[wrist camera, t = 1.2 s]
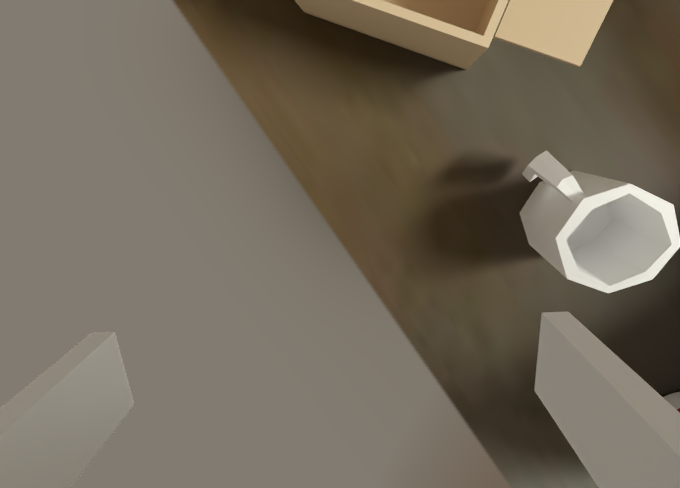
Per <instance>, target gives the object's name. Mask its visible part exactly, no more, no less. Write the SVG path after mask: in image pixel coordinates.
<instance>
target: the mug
mask: <svg viewBox="0 0 680 488" xmlns="http://www.w3.org/2000/svg"><path fill="white" fill-rule="evenodd" d="M522 175H523V176H524V177H525V178H526V179H527V180H528V181H529V182H531V181H532V180H534V179H535V178H536V177H539V178H540V179H542V180H543V181H541V182H539V184H538V185H537V187H536V188H535V190H534V191H533V193H532V194H531V196H530V197H529V199H528V200H527V202H526V203H525V205H524V206H523V208H522V210H521V211H520V217H521V220H522V223H523V227H524V230H525V233H526V236H527V240H528V243H529V245H530V246H531V247H532V248H534V249H535V250H536V251H537V252H538V253H539V254H540V255H541V256H542V257H544V258H545V259H546V260H547V261H548V262H549V263H550V264H551V265H552V266H553V267H555V268H556V269H557V270H558V271H559V272H560V273H561V274H562V275H563V276H565V277H566V278H567V279H569V280H572V281H575V282H578V283H580V284H583V285H586V286H589V287H592V288H594V289H597V290H600V291H603V292H606V293H611V292H614V291H618V290H621V289H624V288H627V287H630V286H634V285H637V284H640V283H643V282H646V281H650V280H653V278H654V277H655V276H656V275H657V274H658V273H659V271H660V270H661V269H662V268H663V267H664V265H665V264H666V263H667V262H668V261H669V259H670V258H671V257H672V256H673V255H674V253H675V252H676V251H677V250H678V249H679V247H680V235H679V230H678V225H677V220H676V215H675V210H674V205H673V204H671V203H669V202H667V201H665V200H663V199H661V198H659V197H657V196H654V195H652V194H650V193H648V192H646V191H644V190H642V189H640V188H638V187H636V186H634V185H632V184H630V183H625V182H621V181H617V180H613V179H608V178H604V177H600V176H595V175H591V174H587V173H583V172H578V171H574V170H573V171H570V172H569V171H568V170H567V169H566V168H565V167H564V166H563V165H562V164H560V163H559V162H558V161H557V160H556V159H555V158H554V157H553V156H552V155H551V154H550V153H549V152H548V151H545V152H543V153H542V154H540V155H538V156H537V157H535V158H534V159H533V160H532V162H531V163H530V164H529V165H528V166H527V167H526V169H525V170H524V171H523V173H522Z"/></svg>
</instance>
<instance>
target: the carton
mask: <svg viewBox="0 0 680 488" xmlns="http://www.w3.org/2000/svg"><path fill="white" fill-rule="evenodd" d="M295 2H296V3H297V4H298V5H299V6H300V8H301V9H302V10H303V11H304V12H305V13H307V14H310V15H313V16H315V17H318V18H321V19H324V20H327V21H329V22H332V23H335V24H338V25H341V26H343V27H346V28H349V29H352V30H355V31H358V32H360V33H363V34H366V35H369V36H372V37H374V38H377V39H380V40H383V41H386V42H388V43H391V44H394V45H397V46H400V47H403V48H405V49H408V50H411V51H414V52H417V53H419V54H422V55H425V56H428V57H431V58H433V59H436V60H439V61H442V62H445V63H447V64H450V65H453V66H456V67H459V68H462V69H464V70H466V69H467V68H468V67H469V66H470V65H471V64H472V63H473V62H474V61H475V60H476V59H477V58H479V57H480V56H481V55H482V54H483V53H484V52H485V51H486V50H487V49H488V47H489V45H490V43H491V40H492V38H493V36H494V38H496V39H499V40H502V41H505V42H508V43H510V44H513V45H516V46H519V47H522V48H525V49H528V50H530V51H533V52H536V53H539V54H542V55H545V56H548V57H550V58H553V59H556V60H559V61H562V62H565V63H568V64H570V65H573V66H576V67H580V66H581V64H582V62H583V60H584V58H585V56H586V54H587V52H588V50H589V48H590V46H591V44H592V42H593V40H594V38H595V36H596V34H597V32H598V30H599V28H600V26H601V24H602V22H603V20H604V18H605V16H606V14H607V12H608V10H609V8H610V6H611V4H612V2H613V0H509V2H508V0H295ZM507 2H508V5H507ZM506 5H507V7H506ZM505 7H506V9H505ZM504 9H505V12H504ZM503 12H504V14H503ZM502 14H503V16H502ZM501 17H502V19H501ZM500 19H501V21H500ZM499 21H500V23H499ZM498 24H499V26H498ZM497 26H498V28H497ZM496 28H497V31H496ZM495 31H496V33H495ZM494 33H495V35H494Z"/></svg>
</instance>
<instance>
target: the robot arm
mask: <svg viewBox="0 0 680 488" xmlns="http://www.w3.org/2000/svg"><path fill="white" fill-rule="evenodd" d="M534 391H535V392H536V394H537V395H538V397H539V398H540V400H541V401H542V403H543V404H544V406H545V407H546V409H547V410H548V412H549V413H550V415H551V416H552V418H553V419H554V421H555V422H556V424H557V425H558V427H559V429H560V430H561V432H562V433H563V435H564V436H565V438H566V439H567V441H568V442H569V444H570V445H571V447H572V448H573V450H574V451H575V453H576V454H577V456H578V457H579V459H580V460H581V462H582V463H583V465H584V466H585V468H586V469H587V471H588V472H589V474H590V475H591V477H592V478H593V480H594V481H595V483H596V484H597V486H598V487H599V488H680V410H676V409H675V408H674V407H673V406H672V405H671V404H670V403H668V402H667V401H666V400H665V399H664V398H663V397H662V396H661V395H660V394H659V393H657V392H656V391H655V390H654V389H653V388H652V387H651V386H650V385H649V384H648V383H646V382H645V381H644V380H643V379H642V378H641V377H640V376H639V375H638V374H637V373H635V372H634V371H633V370H632V369H631V368H630V367H629V366H628V365H627V364H625V363H624V362H623V361H622V360H621V359H620V358H619V357H618V356H617V355H616V354H614V353H613V352H612V351H611V350H610V349H609V348H608V347H607V346H606V345H605V344H603V343H602V342H601V341H600V340H599V339H598V338H597V337H596V336H595V335H594V334H592V333H591V332H590V331H589V330H588V329H587V328H586V327H585V326H584V325H582V324H581V323H580V322H579V321H578V320H577V319H576V318H575V317H574V316H573V315H571V314H570V313H569V312H546V313H542V316H541V326H540V336H539V347H538V357H537V368H536V378H535V388H534ZM133 406H134V401H133V397H132V394H131V390H130V386H129V383H128V379H127V375H126V371H125V368H124V364H123V360H122V356H121V353H120V350H119V346H118V342H117V338H116V334H115V332H99V333H98V332H97V333H91V334H89V335H88V336H87V337H86V338H84V339H83V340H82V341H81V342H80V343H78V344H77V345H76V346H75V347H73V348H72V349H71V350H70V351H69V352H67V353H66V354H65V355H64V356H63V357H61V358H60V359H59V360H58V361H57V362H55V363H54V364H53V365H52V366H51V367H50V368H48V369H47V370H46V371H44V372H43V373H42V374H41V375H40V376H38V377H37V378H36V379H35V380H34V381H32V382H31V383H30V384H29V385H27V387H25V388H24V389H23V390H21V391H20V392H19V393H18V394H17V395H15V396H14V397H13V398H12V399H11V400H9V401H8V402H7V403H6V404H4V405H3V406H2V407H1V408H0V488H71V487H72V486H73V485H74V483H75V482H76V481H77V479H78V478H79V477H80V475H81V474H82V473H83V471H84V470H85V469H86V467H87V466H88V465H89V463H90V462H91V461H92V460H93V458H94V457H95V456H96V454H97V453H98V452H99V450H100V449H101V448H102V446H103V445H104V444H105V442H106V441H107V440H108V438H109V437H110V436H111V435H112V433H113V432H114V430H115V429H116V428H117V427H118V425H119V424H120V422H121V421H122V420H123V419H124V417H125V416H126V415H127V413H128V412H129V411H130V410H131V408H132V407H133Z"/></svg>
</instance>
